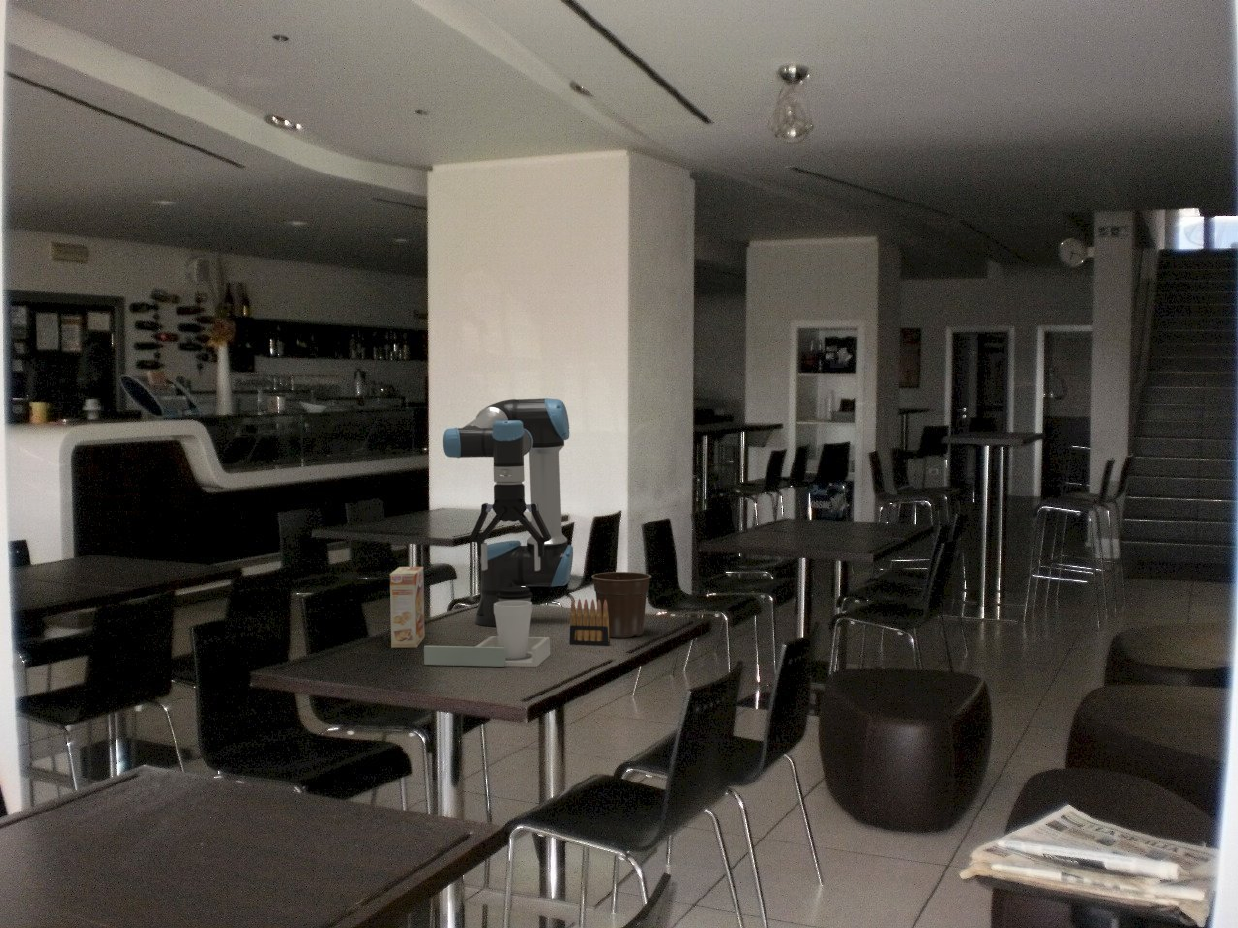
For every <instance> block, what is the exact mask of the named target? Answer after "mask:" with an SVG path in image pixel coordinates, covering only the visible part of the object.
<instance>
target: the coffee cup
mask: <svg viewBox="0 0 1238 928" xmlns="http://www.w3.org/2000/svg"><path fill="white" fill-rule="evenodd" d="M497 598H499V602H502V601H529V602H532V601H531V600H532V598H533V592H531V590H530V588H529V587H528V586H521V587H506V588H501V589H499V593H498V594H497Z"/></svg>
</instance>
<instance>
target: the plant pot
mask: <svg viewBox="0 0 1238 928" xmlns="http://www.w3.org/2000/svg"><path fill="white" fill-rule="evenodd" d="M591 579H592V583H593V590H594V592H595V601H596V604H597V603H598V600H600V602H601V610H602V625H603V605H604V601H605V600H606V601H607V605H608V615H609V630H610V638H614V639H624V638H627V639H628V638H632V637H640V636H642V635H643V634H644V632H645V631H644V630H645V628H644V627H645V618H646V605H647V595H648V591H649V587H650V580H651V579H652V575H650V574H647V573H643V572H630V571H629V572H628V571H627V572H626V571H611V572H600V573H594V574H593V575H591Z"/></svg>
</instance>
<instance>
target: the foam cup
mask: <svg viewBox="0 0 1238 928" xmlns="http://www.w3.org/2000/svg"><path fill="white" fill-rule="evenodd" d="M494 614H495V619H496V626H495V627H496V632H497V636H498V640H499V647H505V658H508V659H516V658H523V657H526V654H527V646H528V637H530V626H531V618H532V614H533V602H532V601H531V602H529V601H502V602H497V603H494Z"/></svg>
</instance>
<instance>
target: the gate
mask: <svg viewBox="0 0 1238 928" xmlns="http://www.w3.org/2000/svg"><path fill="white" fill-rule="evenodd" d="M423 663H424V666H449V667H450V666H454V667H491V668H493V667H496V668H498V667H500V668H501V667H502V668H504V667H506V666H505V647H476V646H468V645H467V646H463V645H460V646H459V645H458V646H457V645H424V646H423Z"/></svg>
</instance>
